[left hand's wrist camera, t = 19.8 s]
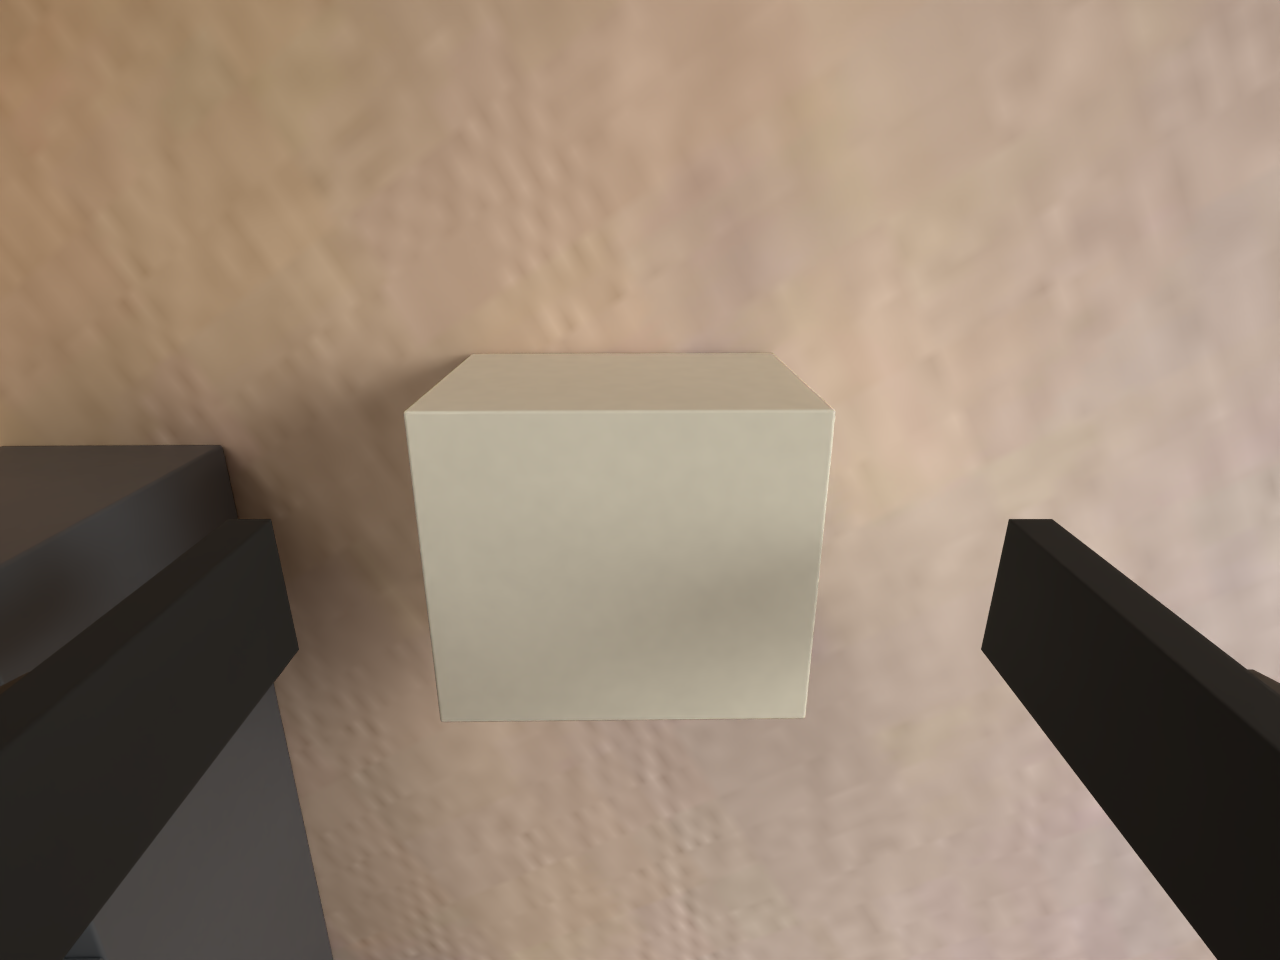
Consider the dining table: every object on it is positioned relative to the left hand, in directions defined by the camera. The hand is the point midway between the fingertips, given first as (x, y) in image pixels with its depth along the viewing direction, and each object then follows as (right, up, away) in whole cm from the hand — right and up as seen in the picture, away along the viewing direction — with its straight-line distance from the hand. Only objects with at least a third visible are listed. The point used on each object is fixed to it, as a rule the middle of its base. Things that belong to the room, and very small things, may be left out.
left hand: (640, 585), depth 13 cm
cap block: (0, +2, +7) cm, 7 cm away
